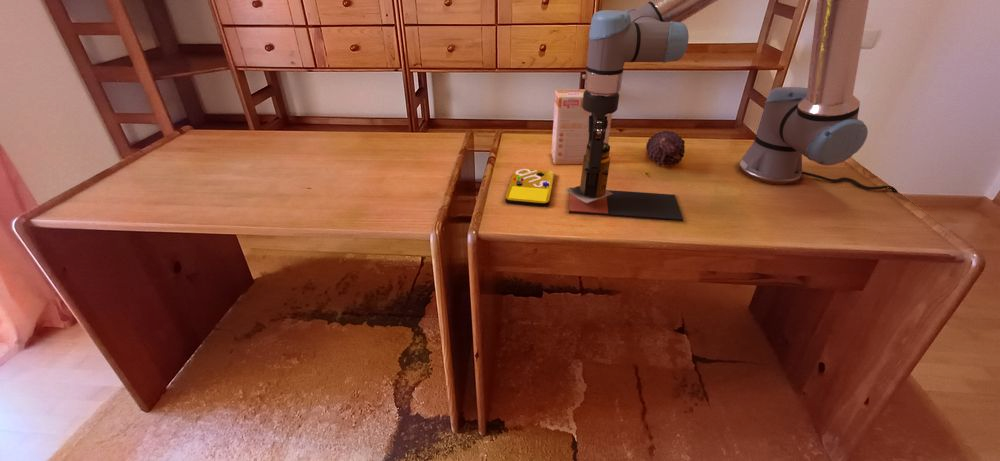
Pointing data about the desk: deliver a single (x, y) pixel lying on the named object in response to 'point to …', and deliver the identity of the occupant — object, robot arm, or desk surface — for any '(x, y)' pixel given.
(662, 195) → the desk mat
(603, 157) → the condiment
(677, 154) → the pine cone
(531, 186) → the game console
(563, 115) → the coffeecake box
